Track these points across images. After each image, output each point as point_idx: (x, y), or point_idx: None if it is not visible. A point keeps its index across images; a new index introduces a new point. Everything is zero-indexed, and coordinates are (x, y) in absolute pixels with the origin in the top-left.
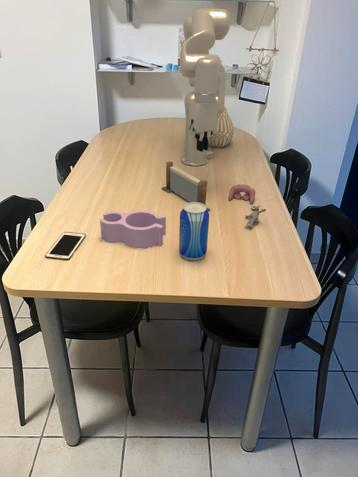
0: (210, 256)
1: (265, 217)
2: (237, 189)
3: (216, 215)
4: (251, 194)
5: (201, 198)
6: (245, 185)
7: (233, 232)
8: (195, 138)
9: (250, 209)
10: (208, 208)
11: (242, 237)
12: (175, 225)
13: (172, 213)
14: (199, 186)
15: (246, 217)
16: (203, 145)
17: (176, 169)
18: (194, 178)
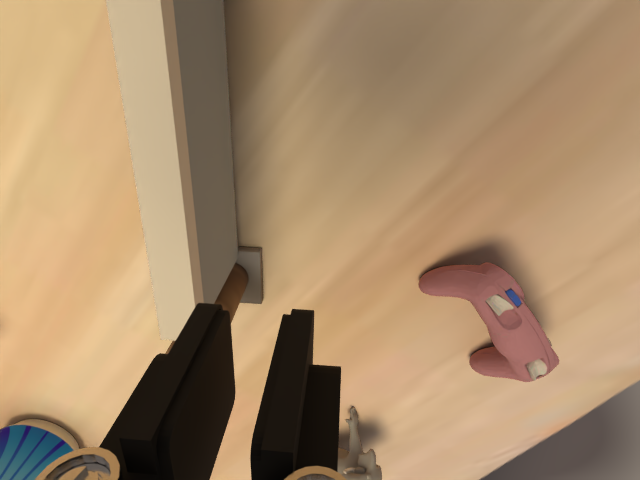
0: None
1: (418, 442)
2: (482, 318)
3: (263, 337)
4: (504, 371)
5: None
6: (525, 356)
7: (236, 439)
8: (51, 465)
9: (343, 471)
10: (260, 293)
11: (241, 468)
12: (61, 302)
13: (91, 217)
14: (168, 349)
15: (353, 412)
16: (211, 471)
17: (130, 38)
18: (178, 283)
